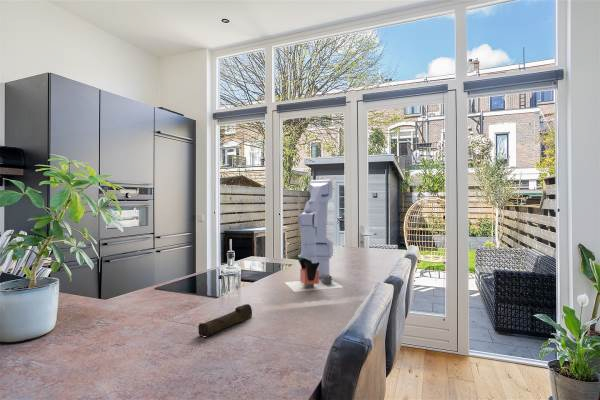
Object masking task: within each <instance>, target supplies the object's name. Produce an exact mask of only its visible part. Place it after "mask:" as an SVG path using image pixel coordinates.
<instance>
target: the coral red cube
mask: <svg viewBox="0 0 600 400" xmlns="http://www.w3.org/2000/svg"><path fill="white" fill-rule="evenodd" d="M299 271H300V272H299V275H300V277H299V278H300V279H299V281H301V282H302V283H303V284H304V285H308V284H319V279H320V277H319V270H316V274H315V279H314V280H313V281H309V280H308V276H307V269H306V268H300V269H299Z"/></svg>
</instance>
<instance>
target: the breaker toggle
mask: <svg viewBox="0 0 600 400" xmlns="http://www.w3.org/2000/svg"><path fill="white" fill-rule="evenodd" d="M304 287H305V288H314V284H308V285H304Z"/></svg>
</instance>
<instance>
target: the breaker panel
mask: <svg viewBox="0 0 600 400" xmlns="http://www.w3.org/2000/svg"><path fill="white" fill-rule="evenodd" d="M284 284H285V285H287V287H289V289H290V290H292V291H293V292H294V293H296V292H307V291H308V292H309V291H319V290H321V291H322V290H330V289H342V288H344V286H343V285H341V284H339V283H338V282H336V281H335V280H333V278H332V275H322V277H321V279H320V278H319V284H314V288H305V287H304V284H303V283H302V282H301V281H300V280H296V281H295V280H294V281H284Z"/></svg>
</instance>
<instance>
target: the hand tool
mask: <svg viewBox="0 0 600 400" xmlns="http://www.w3.org/2000/svg"><path fill="white" fill-rule="evenodd" d="M234 309H235V310H234V311H232V312H229V313H227V314H223V315H221V316H219V317H217V318H214V319H211V320H208V321H205V322H204V323H203V322H202V323H201V322H200V323H199V324H198V327H197V328H198V335H199V336H200V335H202V336H206V337H207V338H209V337H210V336H209V335H212V336H213V334H215V332H216V333H217V332H219V331H222V330H225V329H227V328H228V327H231V326H233V325H235V324H243V323H246V322H247V321H248V320H250V319H251V318H252V316H253V309H252V306H251V304H249V303H248V304H242V305H239V306H237V307H235V308H234ZM246 320H247V321H246Z"/></svg>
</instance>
